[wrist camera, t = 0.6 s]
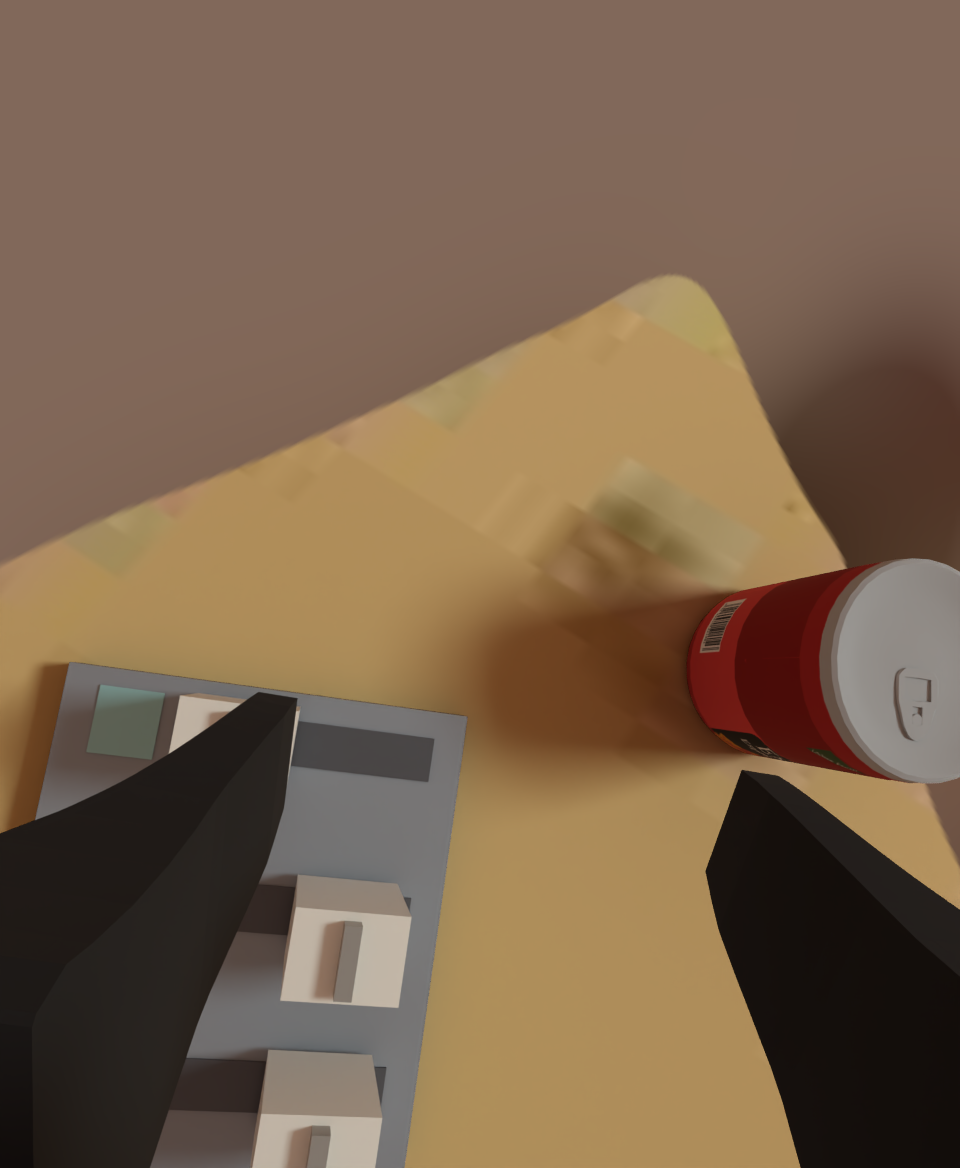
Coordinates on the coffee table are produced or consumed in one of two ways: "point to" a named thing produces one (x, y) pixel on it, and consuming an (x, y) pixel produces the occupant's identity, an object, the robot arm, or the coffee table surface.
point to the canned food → (838, 671)
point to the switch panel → (287, 887)
